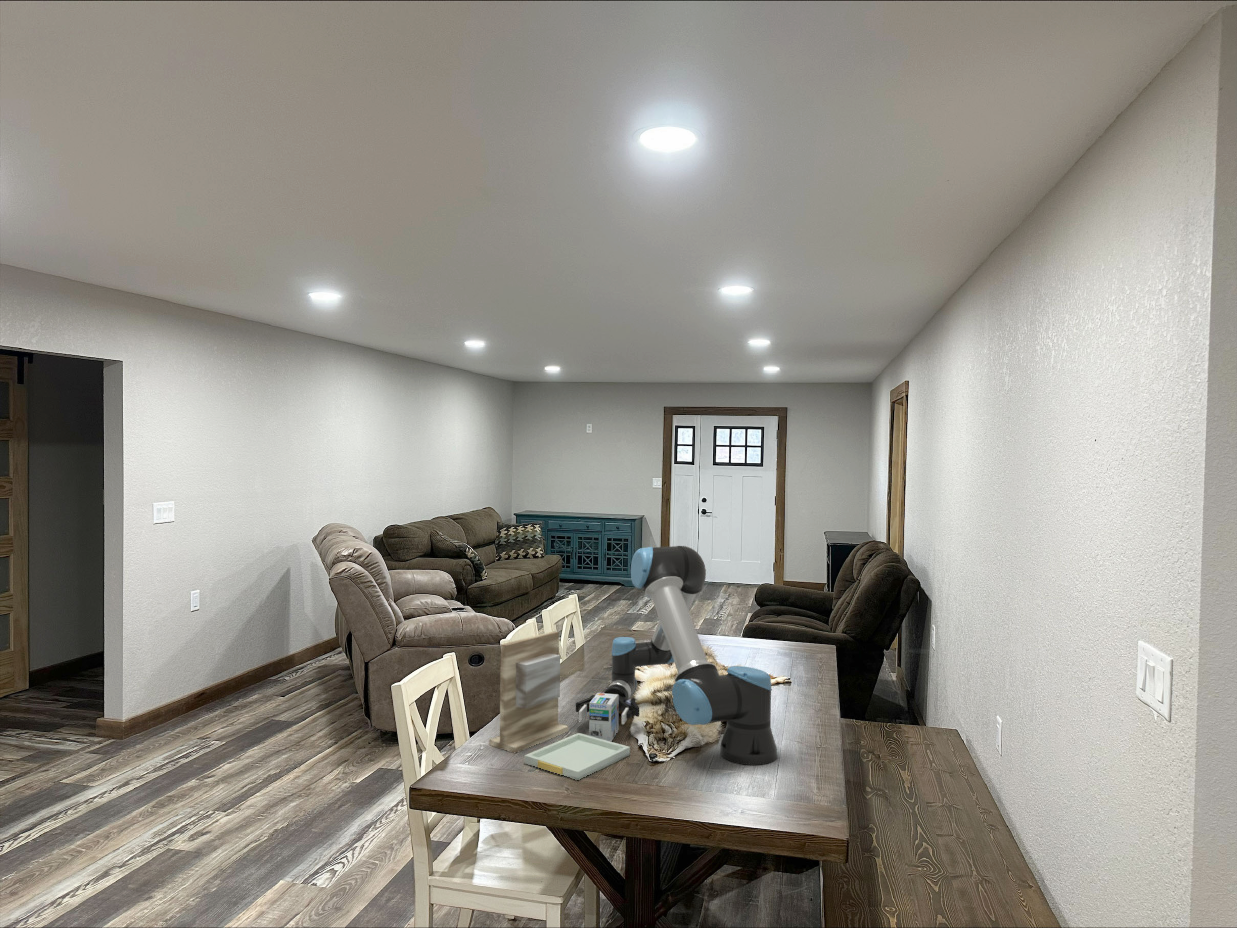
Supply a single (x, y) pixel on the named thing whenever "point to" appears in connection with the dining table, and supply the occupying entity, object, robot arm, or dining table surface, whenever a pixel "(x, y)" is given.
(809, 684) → the dining table surface
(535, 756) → the tray
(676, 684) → the robot arm
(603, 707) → the light bulb box
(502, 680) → the wall unit
